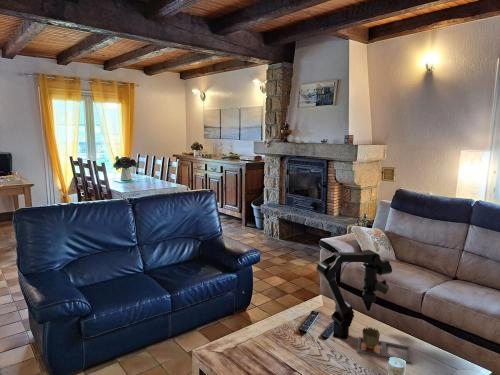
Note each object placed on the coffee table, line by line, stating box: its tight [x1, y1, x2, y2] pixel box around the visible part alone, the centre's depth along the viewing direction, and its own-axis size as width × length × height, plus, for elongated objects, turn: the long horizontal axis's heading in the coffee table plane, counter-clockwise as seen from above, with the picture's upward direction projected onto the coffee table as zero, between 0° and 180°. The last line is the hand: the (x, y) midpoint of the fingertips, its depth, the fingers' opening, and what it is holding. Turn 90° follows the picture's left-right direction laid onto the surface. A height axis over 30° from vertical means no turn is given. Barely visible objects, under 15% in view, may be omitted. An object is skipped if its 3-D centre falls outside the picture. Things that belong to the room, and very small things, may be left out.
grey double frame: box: [356, 336, 412, 364], centre depth 158 cm, size 22×11×1 cm, turn 69°
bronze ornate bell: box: [362, 326, 381, 350], centre depth 160 cm, size 8×7×8 cm
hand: (368, 306), depth 174 cm, fingers open, 9 cm apart
